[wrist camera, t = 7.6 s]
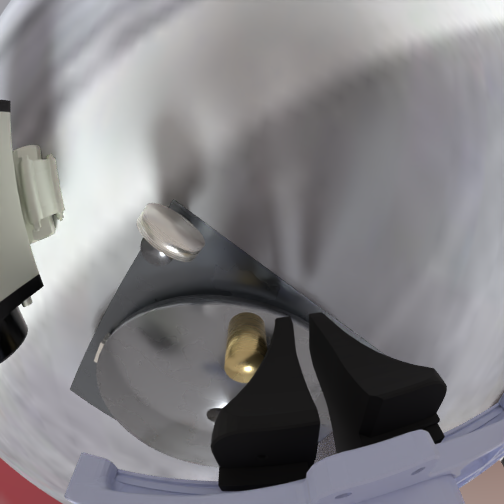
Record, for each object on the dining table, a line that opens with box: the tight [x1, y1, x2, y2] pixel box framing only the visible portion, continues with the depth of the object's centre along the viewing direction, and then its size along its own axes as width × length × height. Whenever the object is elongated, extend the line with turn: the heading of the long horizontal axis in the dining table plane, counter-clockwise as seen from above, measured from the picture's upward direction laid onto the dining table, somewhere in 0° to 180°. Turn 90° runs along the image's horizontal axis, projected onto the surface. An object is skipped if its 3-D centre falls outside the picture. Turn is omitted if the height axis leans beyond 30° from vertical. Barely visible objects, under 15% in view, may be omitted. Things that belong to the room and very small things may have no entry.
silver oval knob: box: [137, 203, 205, 266], centre depth 11 cm, size 3×2×4 cm, turn 52°
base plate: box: [70, 200, 384, 420], centre depth 17 cm, size 19×19×1 cm
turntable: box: [94, 295, 332, 467], centre depth 15 cm, size 17×17×4 cm
